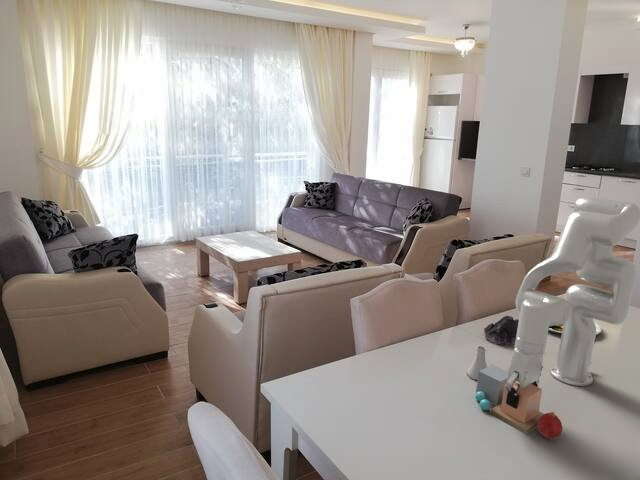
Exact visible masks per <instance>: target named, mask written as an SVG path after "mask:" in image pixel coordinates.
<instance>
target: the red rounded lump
mask: <svg viewBox="0 0 640 480" xmlns="http://www.w3.org/2000/svg"><path fill="white" fill-rule="evenodd" d="M537 429H538V430H539V432H540V433H541V435H542V436H544V438H545V439H547V440H551V439H555V438H558V437H559V436H560V435H561V433H562V432H563V424H562V421H561V419H560V418H559V417H558V416H557V415H556V414H555V411H551V412H546V413H544V415H543V416H541V417H540V418H539V420H538V426H537Z"/></svg>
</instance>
